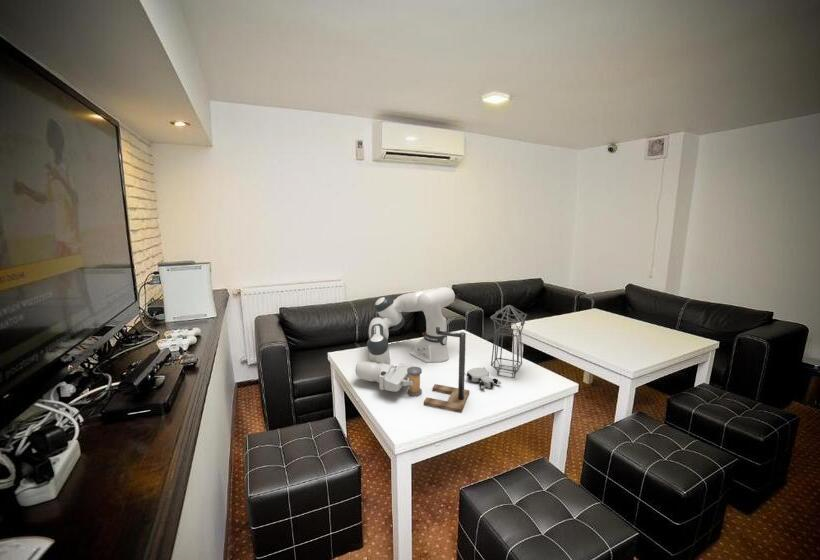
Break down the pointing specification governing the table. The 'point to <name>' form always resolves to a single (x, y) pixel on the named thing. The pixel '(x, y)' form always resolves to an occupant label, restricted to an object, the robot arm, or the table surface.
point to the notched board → (452, 402)
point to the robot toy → (481, 377)
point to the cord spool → (414, 375)
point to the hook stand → (461, 358)
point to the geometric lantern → (508, 335)
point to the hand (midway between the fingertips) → (416, 379)
